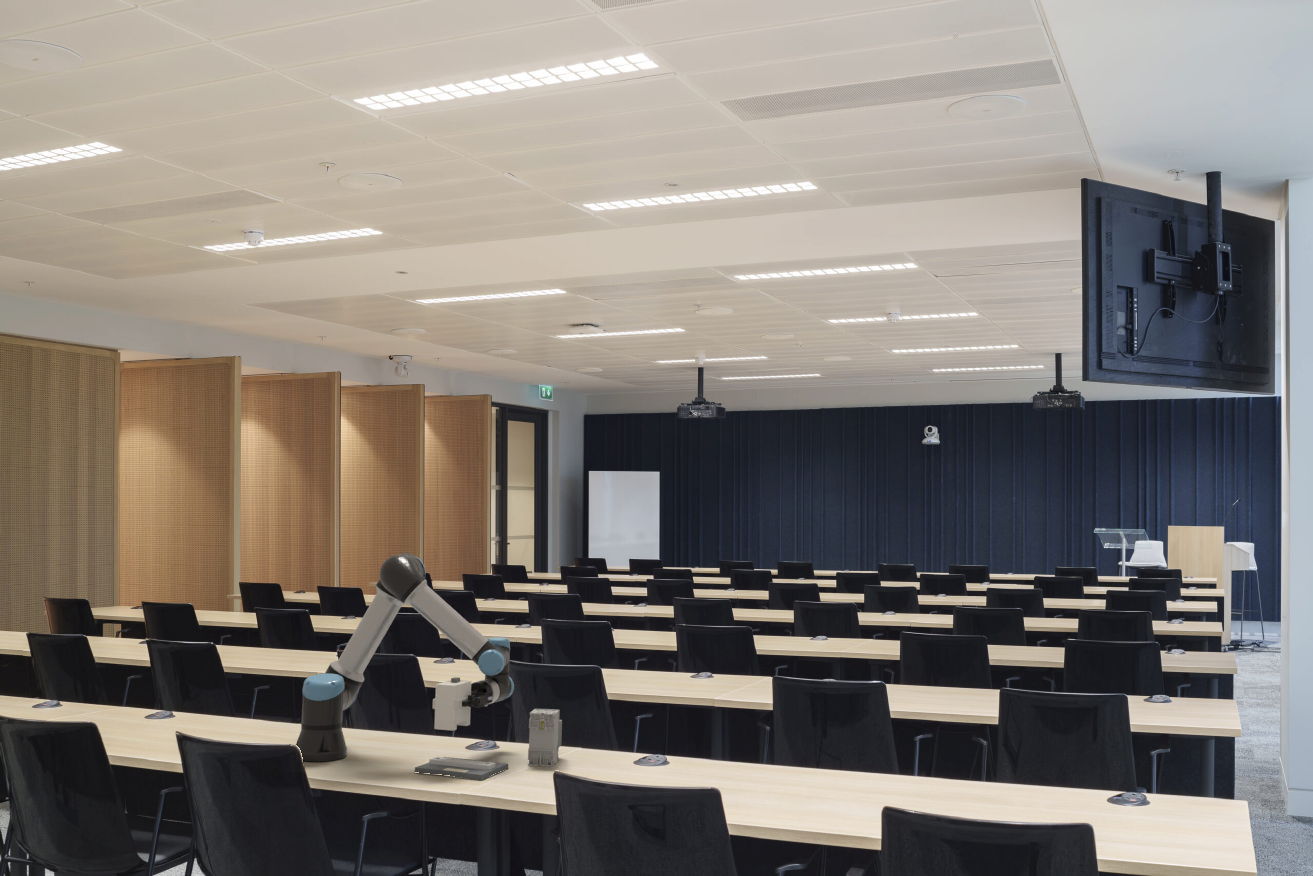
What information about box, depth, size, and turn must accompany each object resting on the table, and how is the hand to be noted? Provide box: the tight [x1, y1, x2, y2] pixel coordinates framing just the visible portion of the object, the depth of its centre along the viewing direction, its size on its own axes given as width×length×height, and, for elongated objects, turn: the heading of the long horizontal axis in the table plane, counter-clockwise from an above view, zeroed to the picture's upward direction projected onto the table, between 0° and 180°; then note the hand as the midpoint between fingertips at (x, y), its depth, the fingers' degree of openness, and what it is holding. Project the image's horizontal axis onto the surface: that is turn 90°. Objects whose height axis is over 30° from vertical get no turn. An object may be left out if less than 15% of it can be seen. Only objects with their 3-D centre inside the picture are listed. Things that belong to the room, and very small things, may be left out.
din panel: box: [414, 756, 509, 781], centre depth 310 cm, size 21×16×3 cm
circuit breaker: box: [527, 708, 563, 767], centre depth 327 cm, size 8×14×15 cm, turn 174°
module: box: [433, 676, 472, 731], centre depth 314 cm, size 6×10×14 cm, turn 162°
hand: (444, 704), depth 309 cm, fingers closed on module, 6 cm apart
